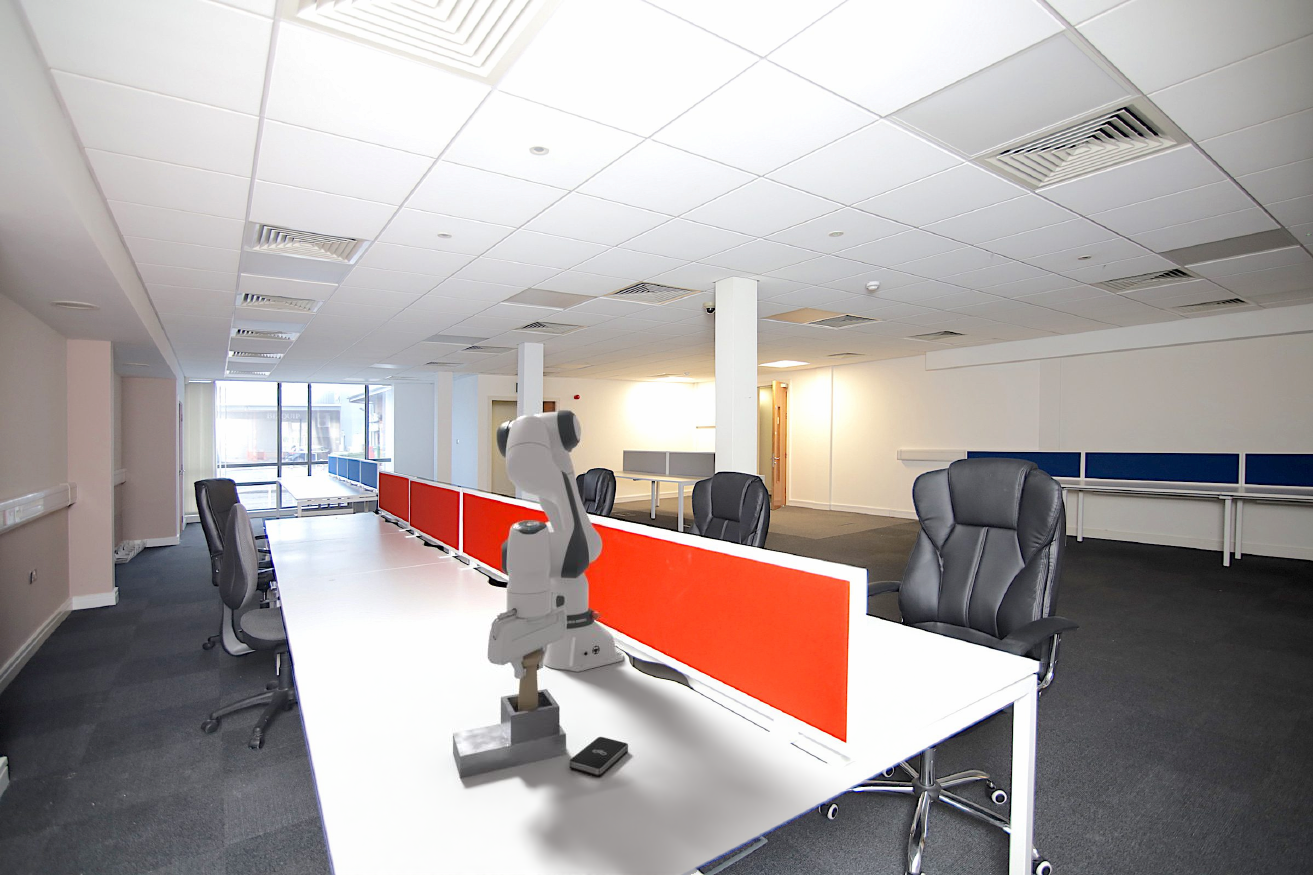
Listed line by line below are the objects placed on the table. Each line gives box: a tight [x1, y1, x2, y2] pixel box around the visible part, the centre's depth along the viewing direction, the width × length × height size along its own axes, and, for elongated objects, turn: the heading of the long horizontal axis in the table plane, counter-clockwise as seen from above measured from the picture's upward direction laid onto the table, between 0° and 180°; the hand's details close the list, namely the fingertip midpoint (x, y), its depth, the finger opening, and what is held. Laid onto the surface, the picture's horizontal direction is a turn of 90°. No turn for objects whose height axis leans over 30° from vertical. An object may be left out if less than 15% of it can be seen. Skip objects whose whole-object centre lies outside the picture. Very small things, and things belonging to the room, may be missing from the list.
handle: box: [518, 650, 541, 712], centre depth 123 cm, size 5×6×15 cm
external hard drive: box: [569, 736, 629, 779], centre depth 118 cm, size 7×11×2 cm, turn 153°
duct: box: [452, 688, 567, 779], centre depth 121 cm, size 20×10×10 cm, turn 115°
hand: (529, 672), depth 123 cm, fingers closed on handle, 4 cm apart
